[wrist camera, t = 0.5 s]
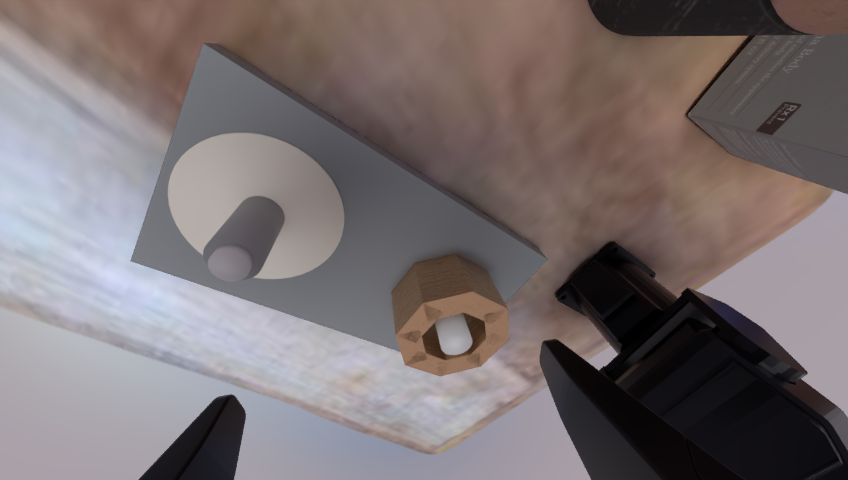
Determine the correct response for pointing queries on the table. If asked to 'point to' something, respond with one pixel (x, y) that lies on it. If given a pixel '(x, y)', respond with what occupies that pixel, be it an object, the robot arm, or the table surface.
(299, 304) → the board
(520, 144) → the table surface
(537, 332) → the table surface
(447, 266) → the wooden ring
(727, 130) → the skincare box
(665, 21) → the travel mug
